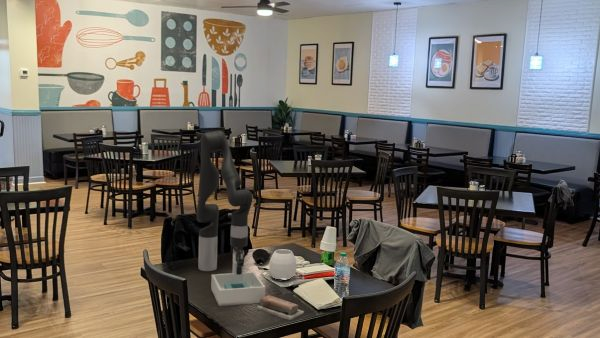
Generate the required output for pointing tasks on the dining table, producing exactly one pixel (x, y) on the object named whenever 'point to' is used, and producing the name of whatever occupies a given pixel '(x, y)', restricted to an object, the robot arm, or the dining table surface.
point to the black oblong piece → (261, 256)
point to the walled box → (237, 289)
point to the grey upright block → (234, 275)
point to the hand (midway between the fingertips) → (237, 272)
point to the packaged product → (279, 307)
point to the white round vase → (282, 264)
